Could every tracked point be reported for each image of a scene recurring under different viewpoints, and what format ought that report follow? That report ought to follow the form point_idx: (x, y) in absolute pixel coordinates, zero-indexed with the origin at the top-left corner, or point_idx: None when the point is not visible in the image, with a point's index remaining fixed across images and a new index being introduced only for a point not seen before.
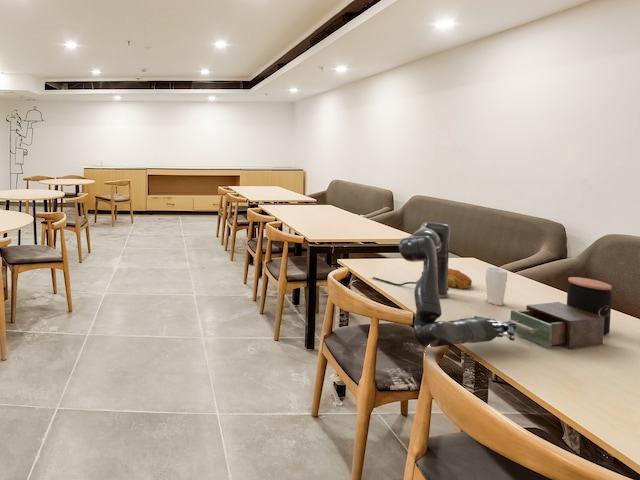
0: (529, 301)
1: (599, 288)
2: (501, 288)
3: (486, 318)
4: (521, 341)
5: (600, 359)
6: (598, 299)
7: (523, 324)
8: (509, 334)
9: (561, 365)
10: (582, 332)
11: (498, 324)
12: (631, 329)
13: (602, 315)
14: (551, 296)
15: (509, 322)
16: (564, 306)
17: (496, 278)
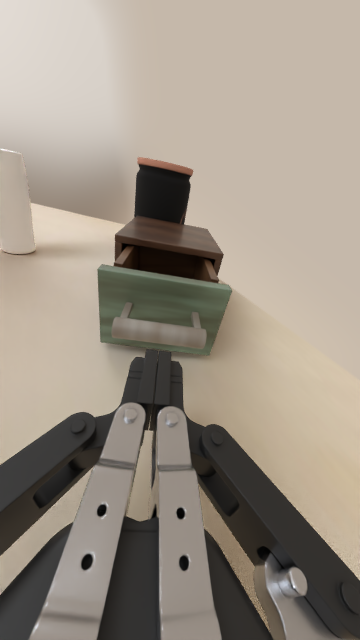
0: (67, 232)
1: (188, 171)
2: (23, 207)
3: (17, 471)
4: None
5: (243, 319)
6: (184, 197)
7: (144, 311)
8: (331, 631)
9: (296, 425)
10: None
11: (186, 558)
12: None
13: None
14: (82, 220)
15: (153, 365)
16: (155, 221)
17: (2, 175)
